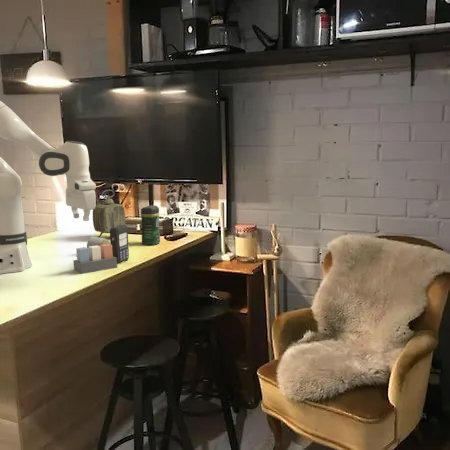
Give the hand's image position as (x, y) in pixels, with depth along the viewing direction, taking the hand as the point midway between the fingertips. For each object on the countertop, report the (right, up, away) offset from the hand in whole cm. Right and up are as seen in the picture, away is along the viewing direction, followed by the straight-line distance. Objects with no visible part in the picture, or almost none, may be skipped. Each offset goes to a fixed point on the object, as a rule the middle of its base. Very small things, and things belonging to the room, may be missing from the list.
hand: (81, 219), depth 214 cm
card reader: (+12, -18, +17) cm, 27 cm away
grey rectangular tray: (+4, -20, +6) cm, 21 cm away
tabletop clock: (-2, -9, +67) cm, 68 cm away
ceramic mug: (0, -15, +34) cm, 37 cm away
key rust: (+8, -16, +9) cm, 20 cm away
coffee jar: (+20, -11, +53) cm, 58 cm away
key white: (+4, -16, +6) cm, 18 cm away
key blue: (0, -17, +3) cm, 17 cm away
